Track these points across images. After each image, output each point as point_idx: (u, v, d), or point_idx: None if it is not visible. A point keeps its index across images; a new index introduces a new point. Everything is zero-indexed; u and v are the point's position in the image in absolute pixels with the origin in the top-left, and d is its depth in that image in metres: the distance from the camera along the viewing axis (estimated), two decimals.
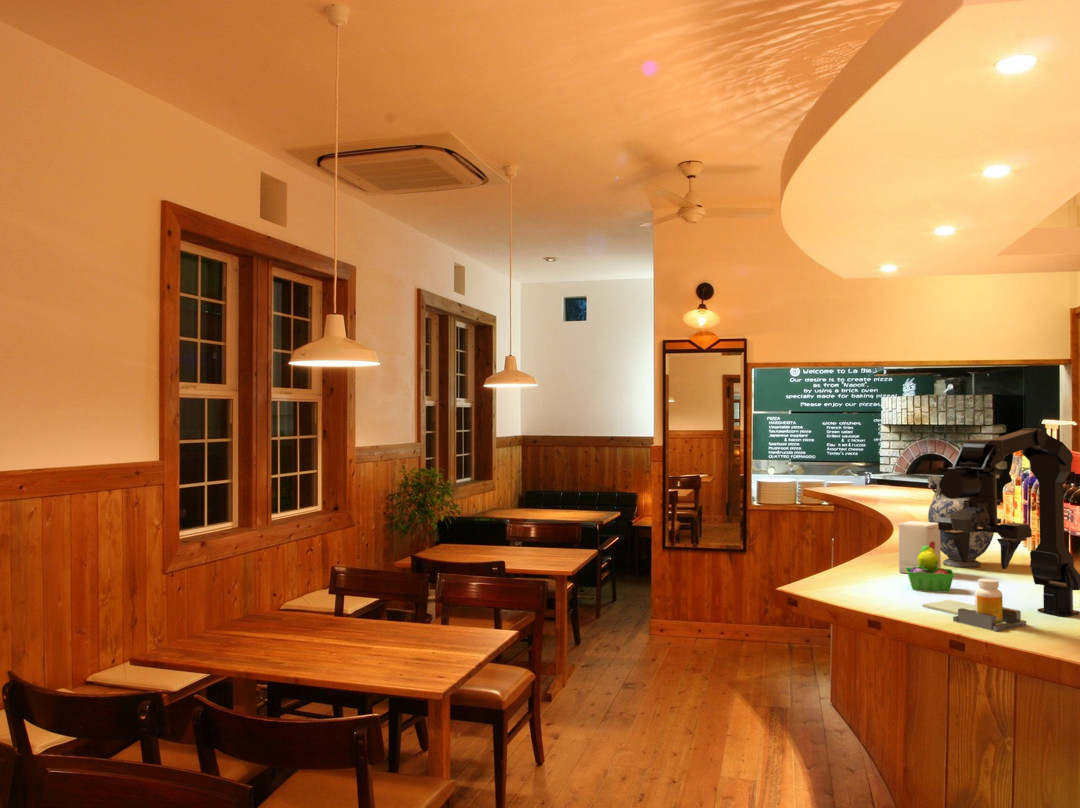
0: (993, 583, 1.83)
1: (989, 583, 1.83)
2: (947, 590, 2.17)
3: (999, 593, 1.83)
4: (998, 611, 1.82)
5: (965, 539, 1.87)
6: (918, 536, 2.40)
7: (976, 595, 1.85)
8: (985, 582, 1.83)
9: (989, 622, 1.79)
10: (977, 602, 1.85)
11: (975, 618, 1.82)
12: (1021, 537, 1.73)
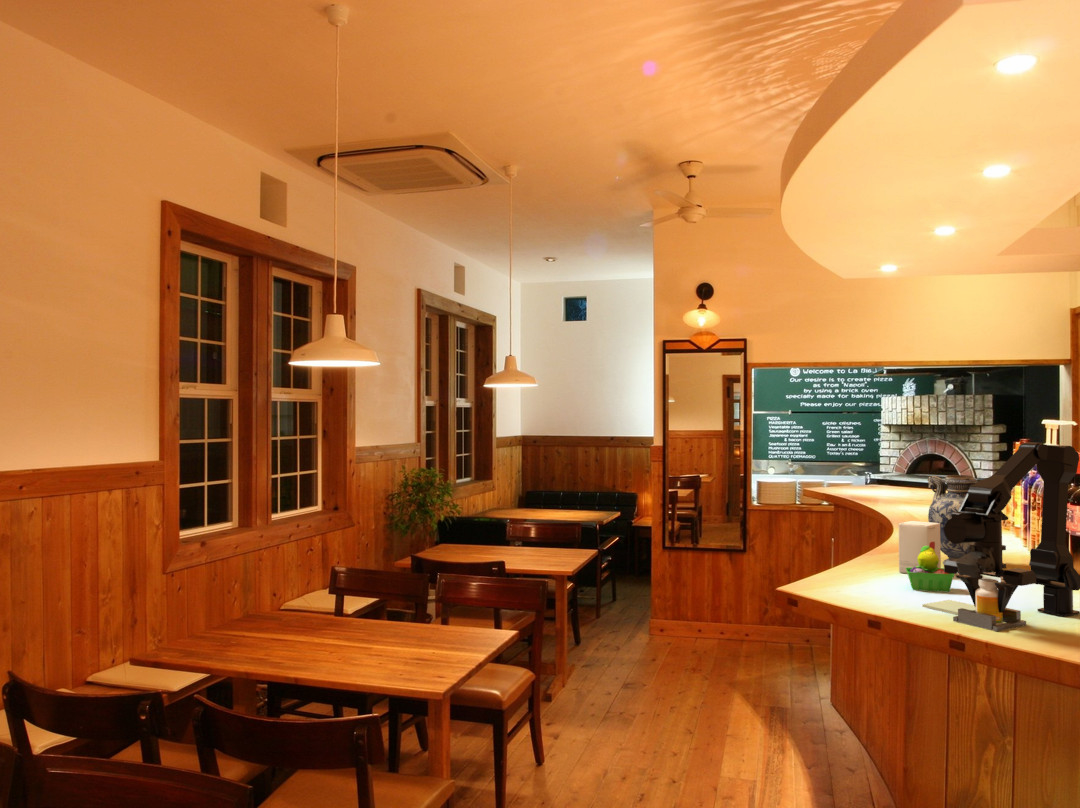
0: (993, 583, 1.83)
1: (989, 583, 1.83)
2: (947, 590, 2.17)
3: None
4: (998, 611, 1.82)
5: (978, 584, 1.88)
6: (918, 536, 2.40)
7: (976, 595, 1.85)
8: (985, 582, 1.83)
9: (989, 622, 1.79)
10: (977, 602, 1.85)
11: (975, 618, 1.82)
12: (1026, 583, 1.76)
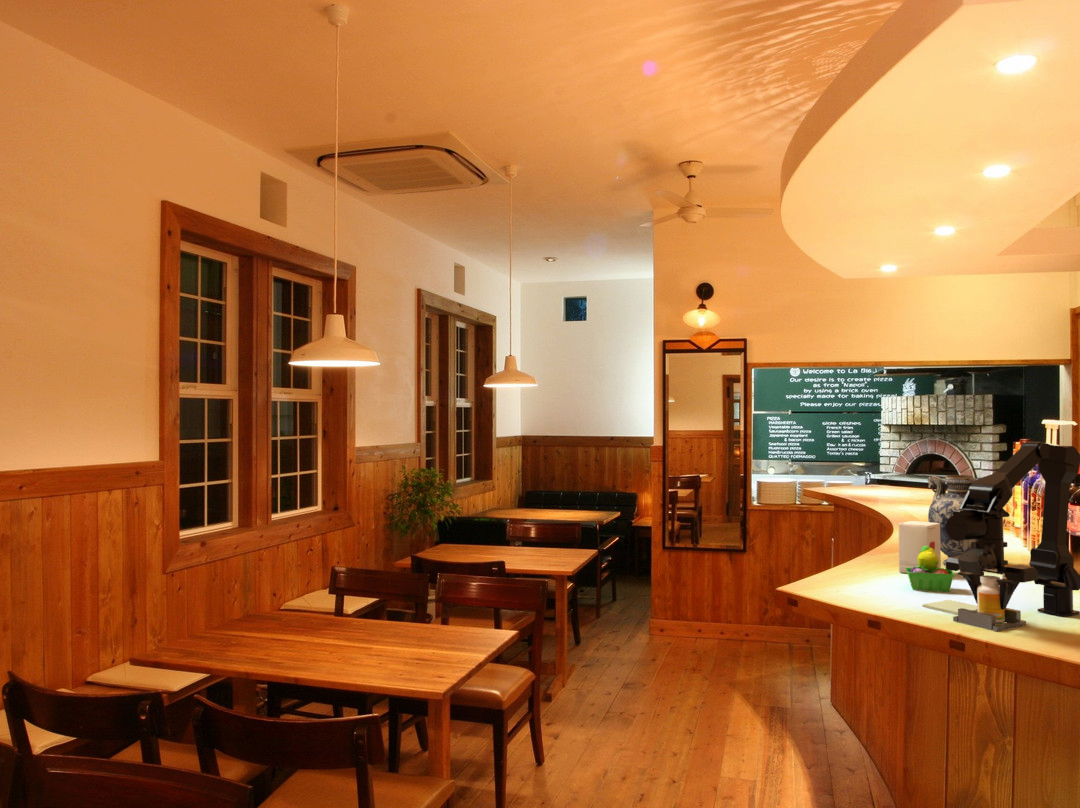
0: (995, 580, 1.83)
1: (991, 580, 1.83)
2: (947, 590, 2.17)
3: None
4: (1000, 607, 1.82)
5: (979, 581, 1.88)
6: (918, 536, 2.40)
7: (978, 592, 1.85)
8: (987, 579, 1.84)
9: (989, 622, 1.79)
10: (979, 599, 1.85)
11: (975, 618, 1.82)
12: (1027, 580, 1.76)
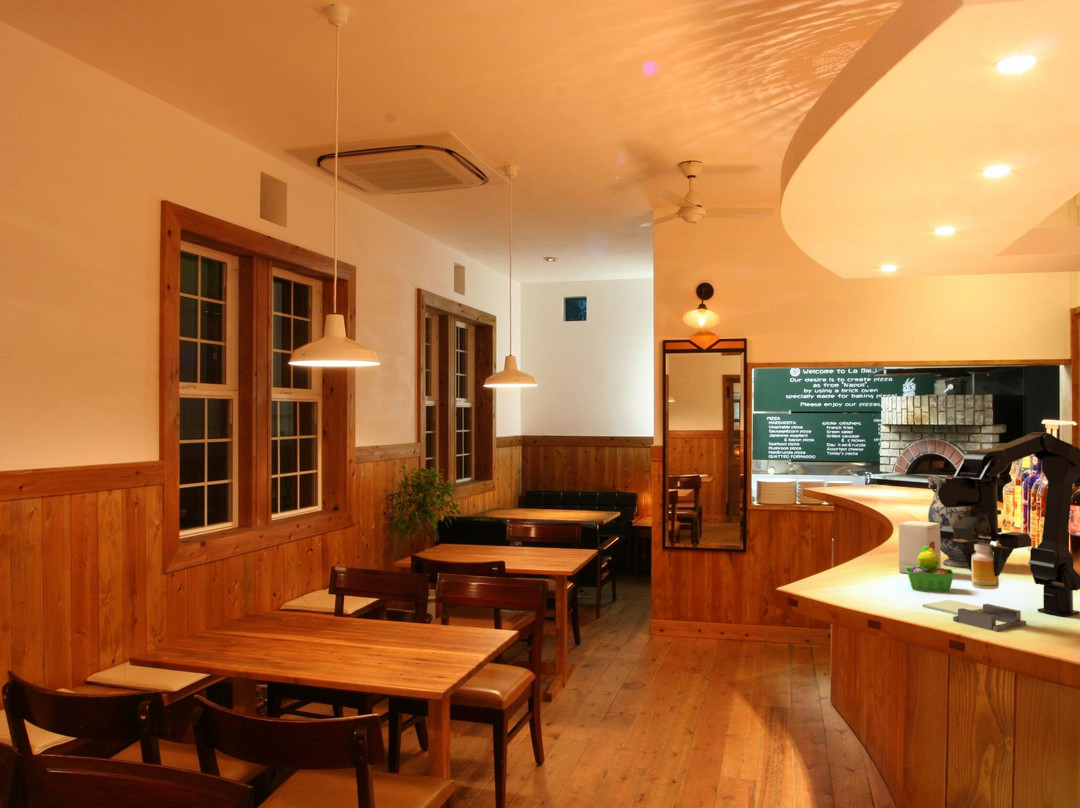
0: (989, 547, 1.84)
1: (985, 547, 1.85)
2: (947, 590, 2.17)
3: None
4: (994, 574, 1.84)
5: (973, 549, 1.90)
6: (918, 536, 2.40)
7: (972, 559, 1.87)
8: (981, 546, 1.85)
9: (989, 622, 1.79)
10: (973, 566, 1.86)
11: (975, 618, 1.82)
12: (1021, 546, 1.78)
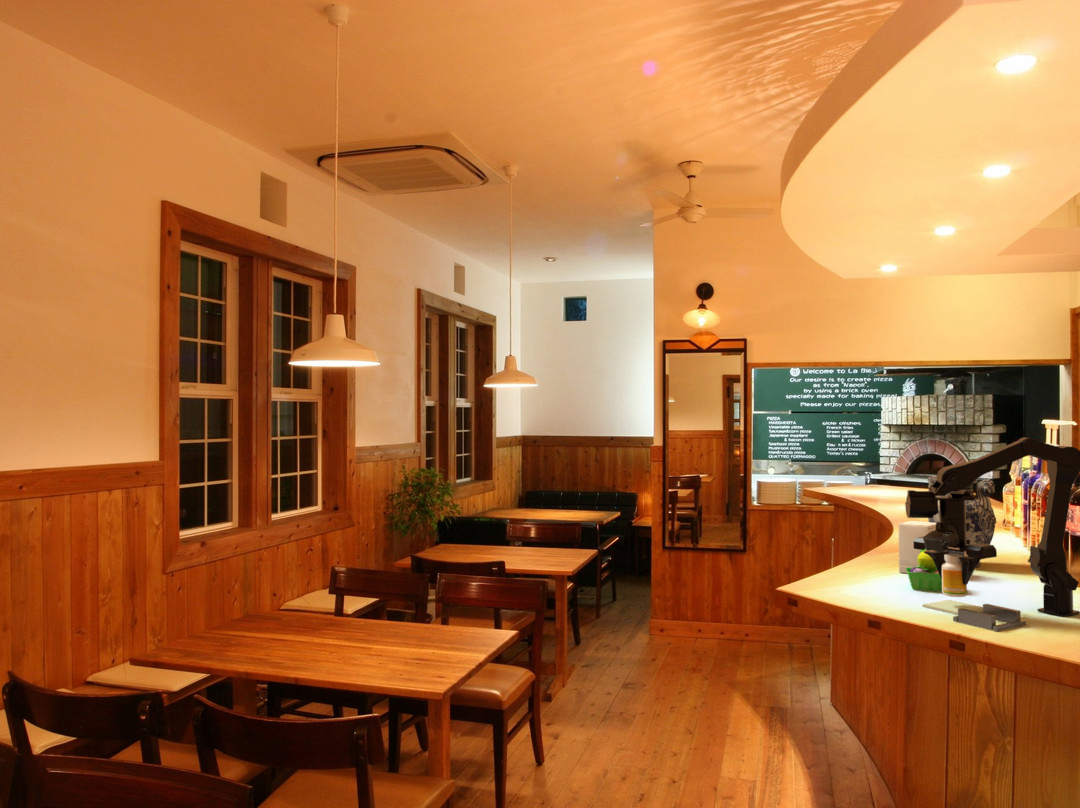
0: (957, 557, 1.97)
1: (954, 557, 1.97)
2: None
3: None
4: (962, 583, 1.96)
5: (944, 559, 2.02)
6: (918, 536, 2.40)
7: (942, 569, 1.99)
8: (950, 557, 1.98)
9: (989, 622, 1.79)
10: (943, 575, 1.99)
11: (975, 618, 1.82)
12: (986, 557, 1.90)
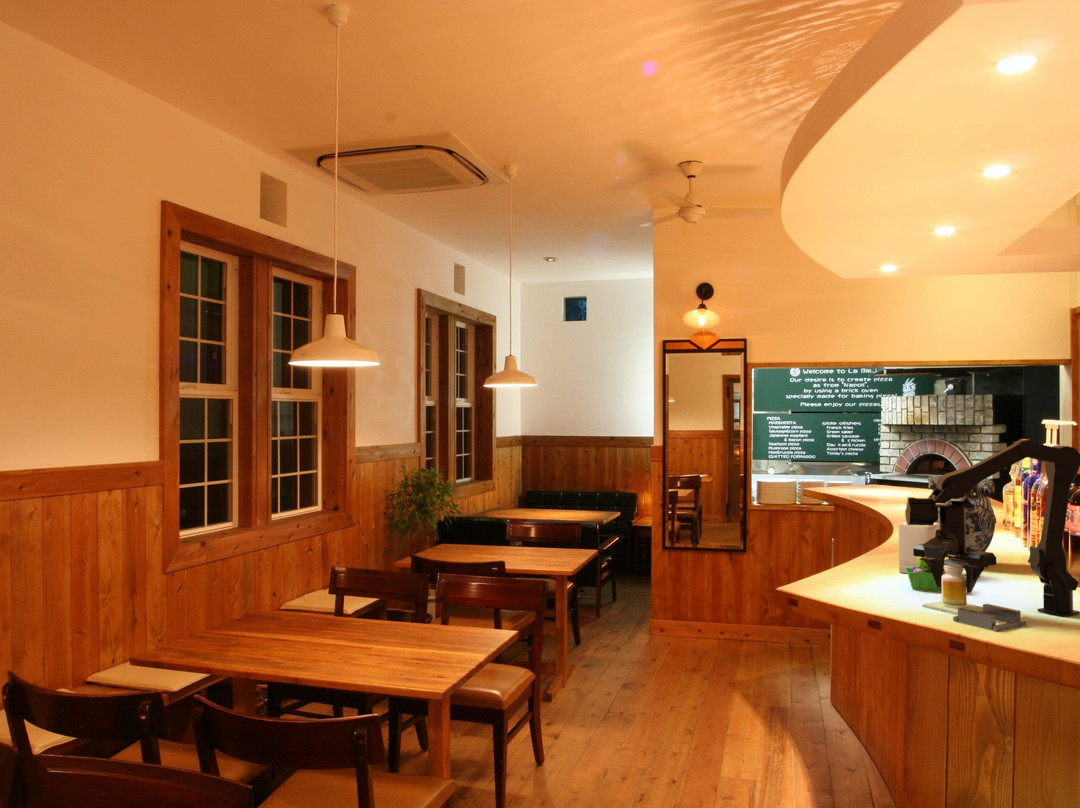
0: (957, 568, 1.97)
1: (954, 568, 1.97)
2: None
3: (963, 578, 1.97)
4: (962, 594, 1.96)
5: (940, 566, 2.03)
6: (918, 536, 2.40)
7: (942, 580, 1.99)
8: (950, 568, 1.98)
9: (989, 622, 1.79)
10: (943, 586, 1.99)
11: (975, 618, 1.82)
12: (986, 565, 1.90)
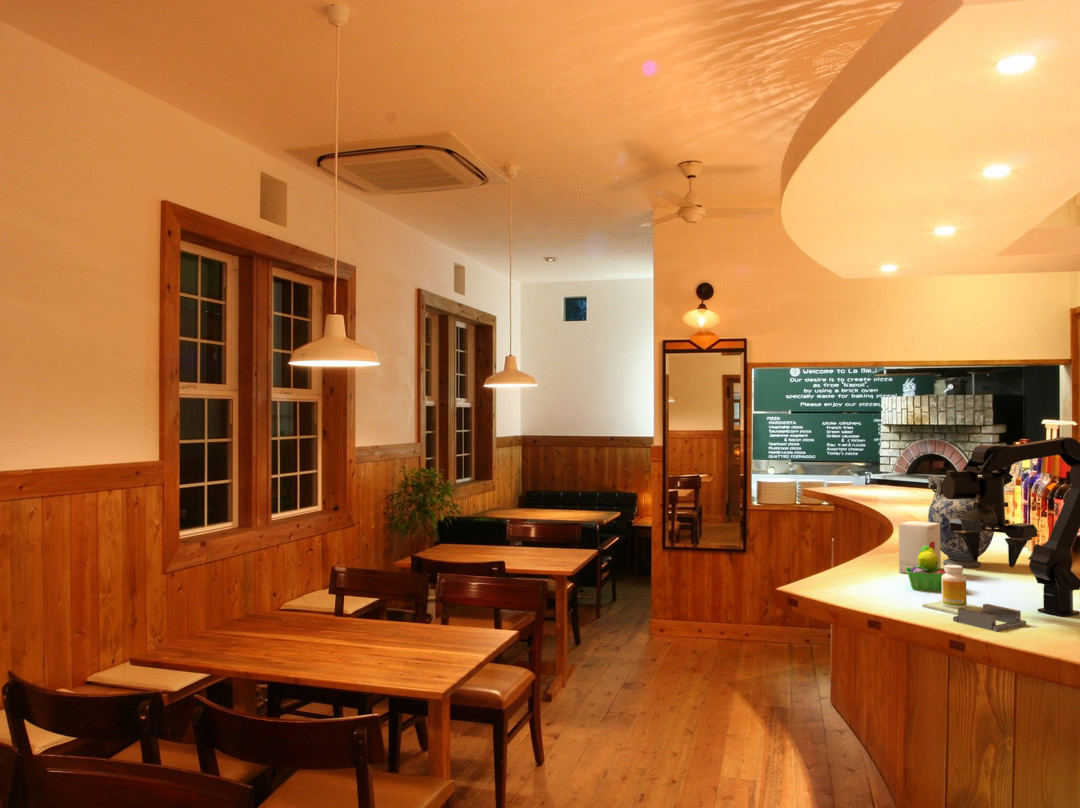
0: (957, 568, 1.97)
1: (954, 568, 1.97)
2: None
3: (963, 578, 1.97)
4: (962, 594, 1.96)
5: (975, 539, 1.98)
6: (918, 536, 2.40)
7: (942, 580, 1.99)
8: (950, 568, 1.98)
9: (989, 622, 1.79)
10: (943, 586, 1.99)
11: (975, 618, 1.82)
12: (1027, 537, 1.84)
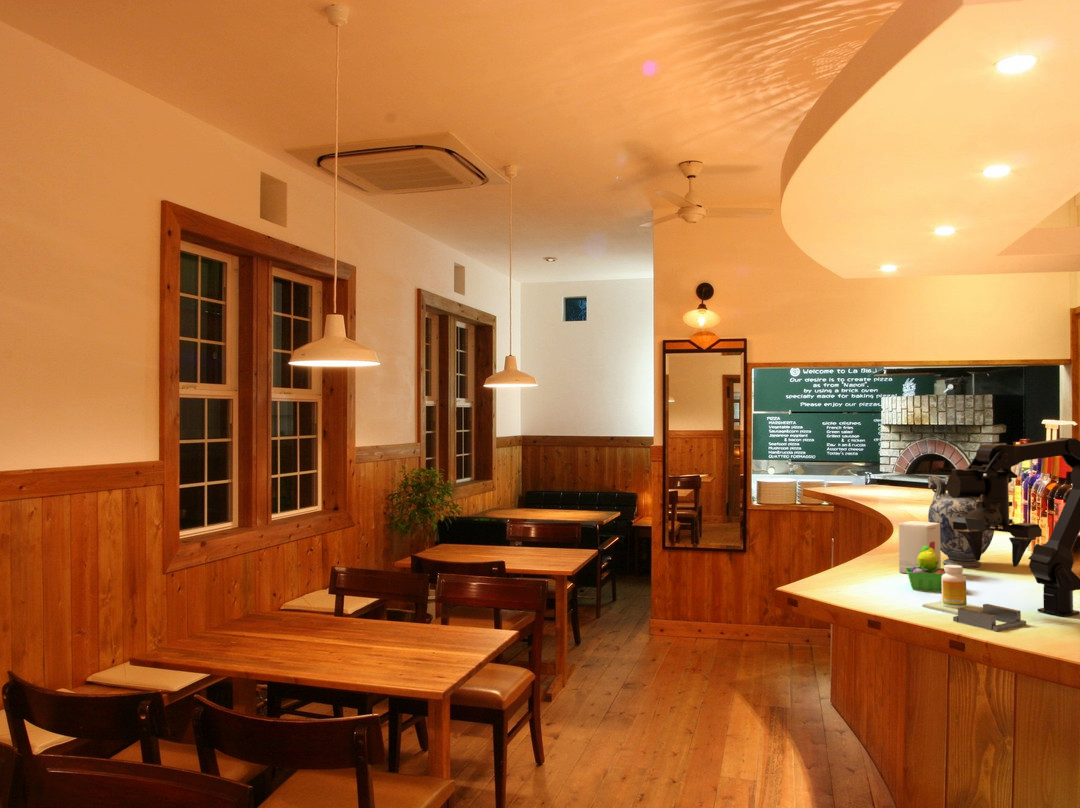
0: (957, 568, 1.97)
1: (954, 568, 1.97)
2: None
3: (963, 578, 1.97)
4: (962, 594, 1.96)
5: (978, 539, 1.97)
6: (918, 536, 2.40)
7: (942, 580, 1.99)
8: (950, 568, 1.98)
9: (989, 622, 1.79)
10: (943, 586, 1.99)
11: (975, 618, 1.82)
12: (1032, 536, 1.84)
